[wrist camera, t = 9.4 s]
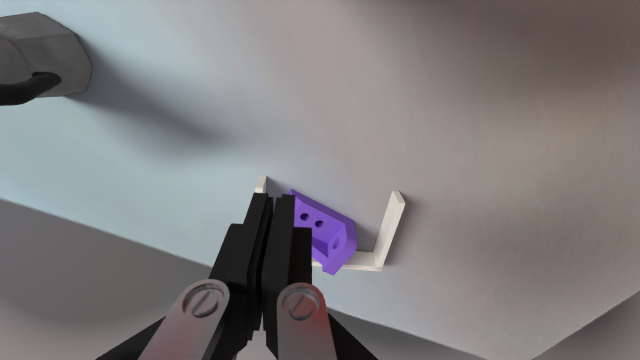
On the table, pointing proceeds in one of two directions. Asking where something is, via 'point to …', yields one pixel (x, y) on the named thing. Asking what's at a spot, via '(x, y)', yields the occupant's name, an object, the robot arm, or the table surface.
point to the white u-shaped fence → (384, 239)
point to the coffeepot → (39, 59)
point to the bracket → (326, 232)
